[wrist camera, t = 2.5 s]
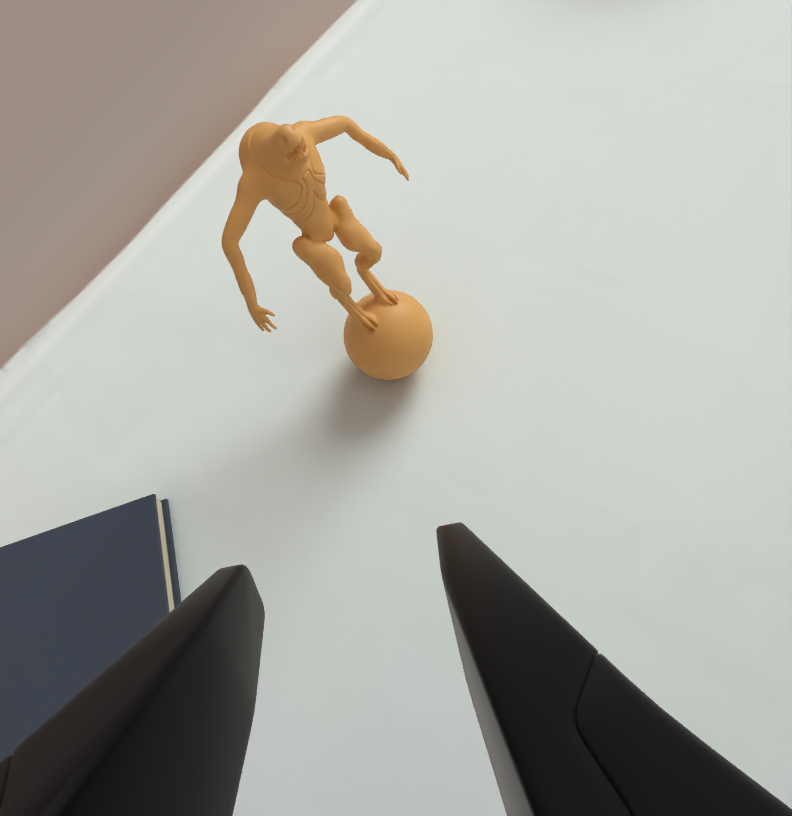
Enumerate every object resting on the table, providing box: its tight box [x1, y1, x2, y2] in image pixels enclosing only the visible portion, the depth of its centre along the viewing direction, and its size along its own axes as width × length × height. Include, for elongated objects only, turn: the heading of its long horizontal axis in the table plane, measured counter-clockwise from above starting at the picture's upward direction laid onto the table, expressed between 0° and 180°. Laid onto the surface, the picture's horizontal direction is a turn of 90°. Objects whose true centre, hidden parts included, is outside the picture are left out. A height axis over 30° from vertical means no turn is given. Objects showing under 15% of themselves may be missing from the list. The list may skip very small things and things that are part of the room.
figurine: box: [222, 116, 433, 380], centre depth 20 cm, size 8×6×12 cm
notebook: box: [0, 494, 181, 761], centre depth 20 cm, size 18×13×1 cm
